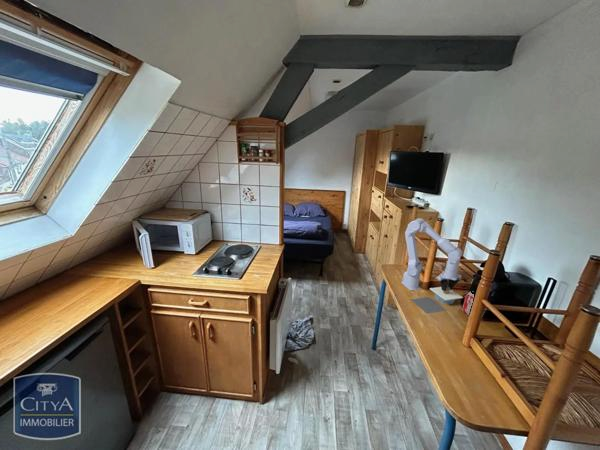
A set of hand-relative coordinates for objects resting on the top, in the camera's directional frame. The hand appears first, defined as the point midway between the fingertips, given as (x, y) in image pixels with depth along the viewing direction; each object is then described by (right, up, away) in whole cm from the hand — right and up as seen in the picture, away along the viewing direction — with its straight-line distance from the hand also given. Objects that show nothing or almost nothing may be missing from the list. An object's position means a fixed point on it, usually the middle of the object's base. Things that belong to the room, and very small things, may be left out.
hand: (446, 289), depth 141 cm
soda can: (+6, -10, -10) cm, 16 cm away
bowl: (0, -6, +2) cm, 6 cm away
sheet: (0, -2, +1) cm, 2 cm away
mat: (-13, -8, -4) cm, 16 cm away
